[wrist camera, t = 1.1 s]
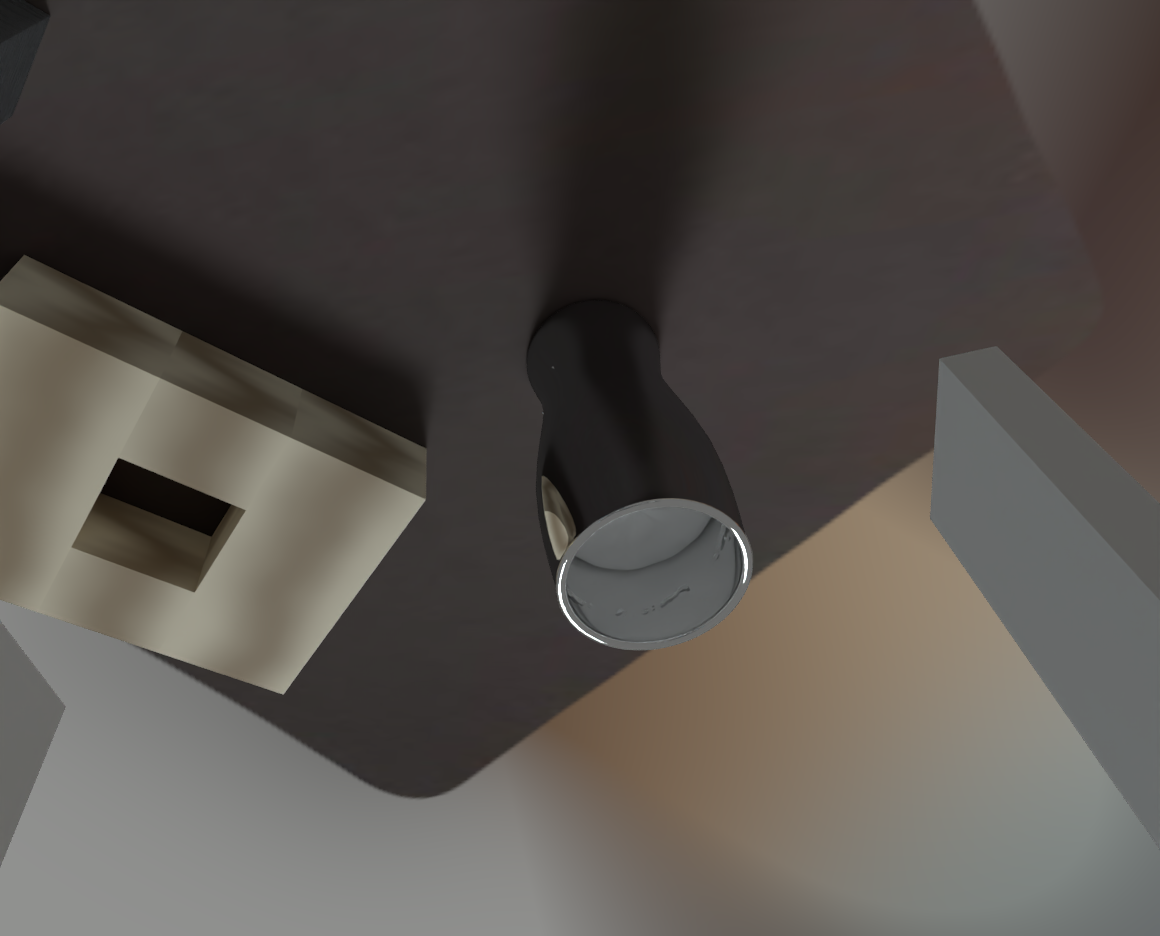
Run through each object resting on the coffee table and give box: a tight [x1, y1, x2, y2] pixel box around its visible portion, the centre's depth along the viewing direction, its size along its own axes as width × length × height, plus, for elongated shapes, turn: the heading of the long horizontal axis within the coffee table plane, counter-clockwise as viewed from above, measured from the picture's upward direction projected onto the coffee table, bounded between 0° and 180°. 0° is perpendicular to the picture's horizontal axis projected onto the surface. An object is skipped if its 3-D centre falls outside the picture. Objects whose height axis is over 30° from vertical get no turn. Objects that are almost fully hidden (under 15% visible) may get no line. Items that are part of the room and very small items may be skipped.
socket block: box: [0, 255, 426, 694], centre depth 42 cm, size 18×14×4 cm
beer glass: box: [527, 300, 753, 650], centre depth 37 cm, size 7×7×15 cm
